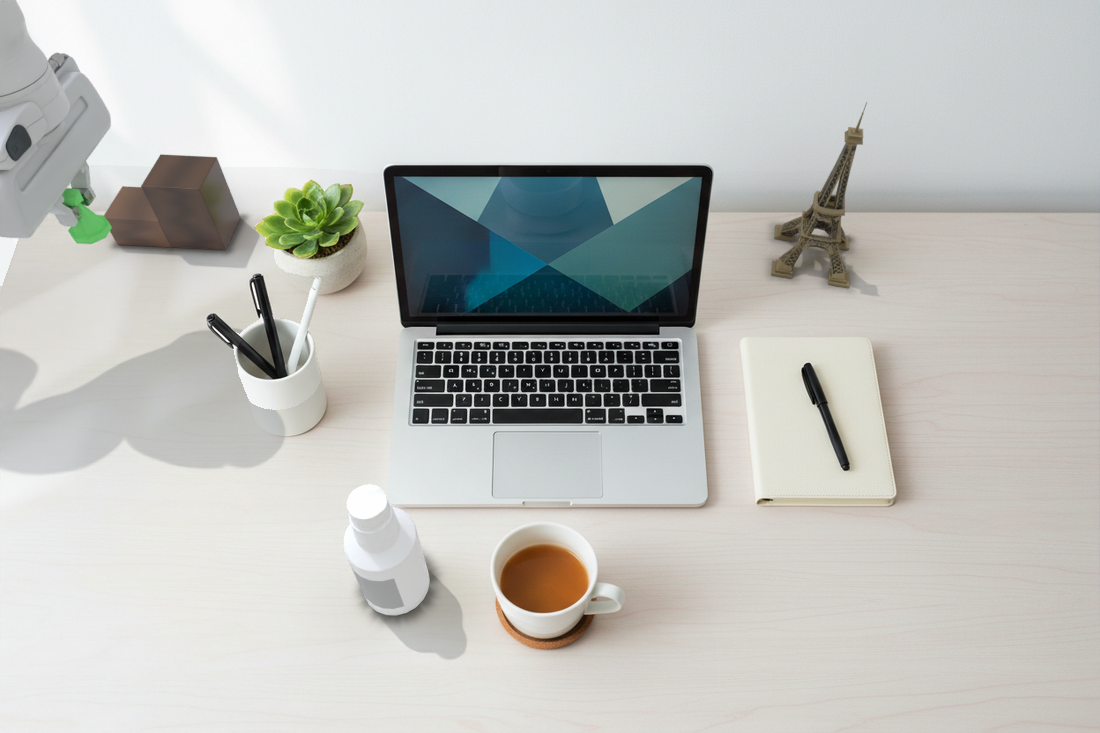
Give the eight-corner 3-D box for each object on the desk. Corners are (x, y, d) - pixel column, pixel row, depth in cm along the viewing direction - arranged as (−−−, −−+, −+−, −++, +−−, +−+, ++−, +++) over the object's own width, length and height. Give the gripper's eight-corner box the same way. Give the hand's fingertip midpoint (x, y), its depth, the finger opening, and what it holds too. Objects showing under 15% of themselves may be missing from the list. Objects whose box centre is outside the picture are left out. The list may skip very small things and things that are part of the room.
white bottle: (365, 557, 83) (328, 470, 69) (429, 551, 83) (406, 463, 69) (362, 620, 79) (323, 541, 65) (430, 613, 79) (406, 533, 65)
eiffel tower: (847, 237, 115) (910, 83, 95) (848, 287, 108) (915, 134, 89) (775, 226, 116) (822, 72, 96) (771, 275, 110) (820, 121, 90)
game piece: (111, 240, 87) (87, 197, 82) (70, 248, 86) (43, 206, 81) (112, 215, 90) (88, 173, 85) (71, 223, 89) (45, 181, 84)
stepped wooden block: (117, 244, 113) (81, 183, 104) (136, 212, 117) (103, 151, 108) (225, 250, 112) (199, 189, 103) (241, 217, 116) (216, 156, 108)
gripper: (34, 41, 81) (93, 152, 92) (-79, 163, 69) (5, 274, 80) (93, 45, 81) (145, 155, 92) (-10, 167, 69) (65, 278, 79)
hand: (79, 211), depth 86 cm, fingers closed on game piece, 2 cm apart
